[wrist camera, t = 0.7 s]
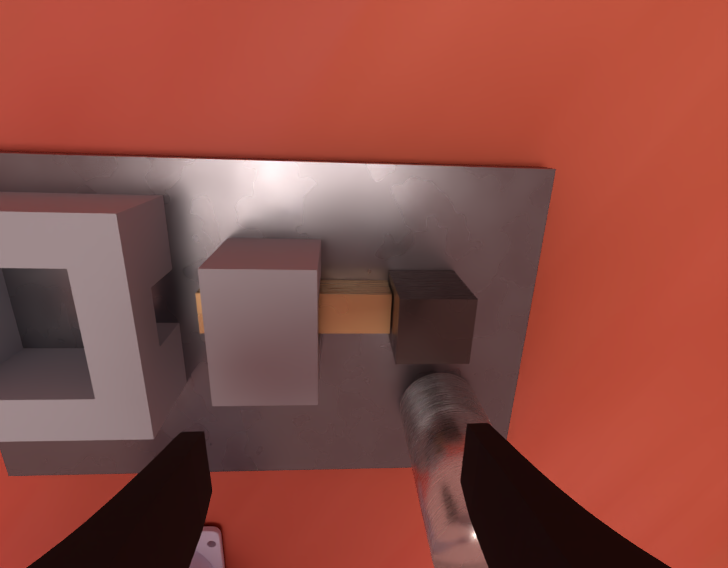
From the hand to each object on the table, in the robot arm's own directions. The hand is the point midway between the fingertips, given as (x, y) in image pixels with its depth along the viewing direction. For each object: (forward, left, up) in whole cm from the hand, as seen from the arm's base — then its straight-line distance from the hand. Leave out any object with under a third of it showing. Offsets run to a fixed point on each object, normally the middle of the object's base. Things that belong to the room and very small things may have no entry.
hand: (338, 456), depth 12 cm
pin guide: (+1, +3, -9) cm, 9 cm away
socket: (+1, +12, -9) cm, 15 cm away
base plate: (-1, +4, -10) cm, 11 cm away
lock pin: (+1, 0, -9) cm, 9 cm away
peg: (-5, -5, -9) cm, 11 cm away
